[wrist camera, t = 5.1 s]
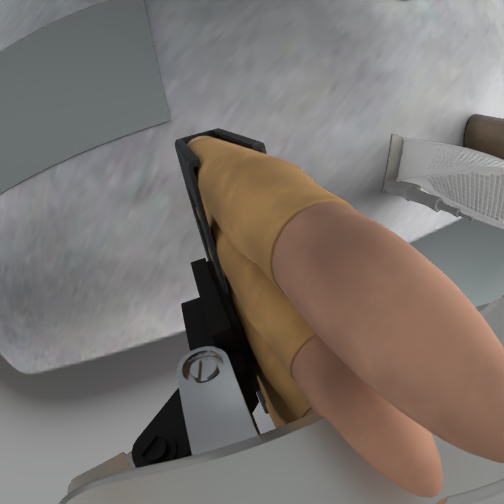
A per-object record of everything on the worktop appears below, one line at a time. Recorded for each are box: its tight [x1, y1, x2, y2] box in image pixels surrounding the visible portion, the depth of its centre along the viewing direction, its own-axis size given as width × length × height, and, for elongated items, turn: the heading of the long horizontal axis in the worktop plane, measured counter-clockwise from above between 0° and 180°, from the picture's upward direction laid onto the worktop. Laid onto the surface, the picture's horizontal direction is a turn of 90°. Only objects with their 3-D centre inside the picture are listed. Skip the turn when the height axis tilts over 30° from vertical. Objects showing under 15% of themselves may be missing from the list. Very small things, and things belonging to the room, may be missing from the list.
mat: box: [0, 0, 171, 194], centre depth 17 cm, size 18×13×1 cm
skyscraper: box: [382, 134, 504, 229], centre depth 20 cm, size 8×8×28 cm
